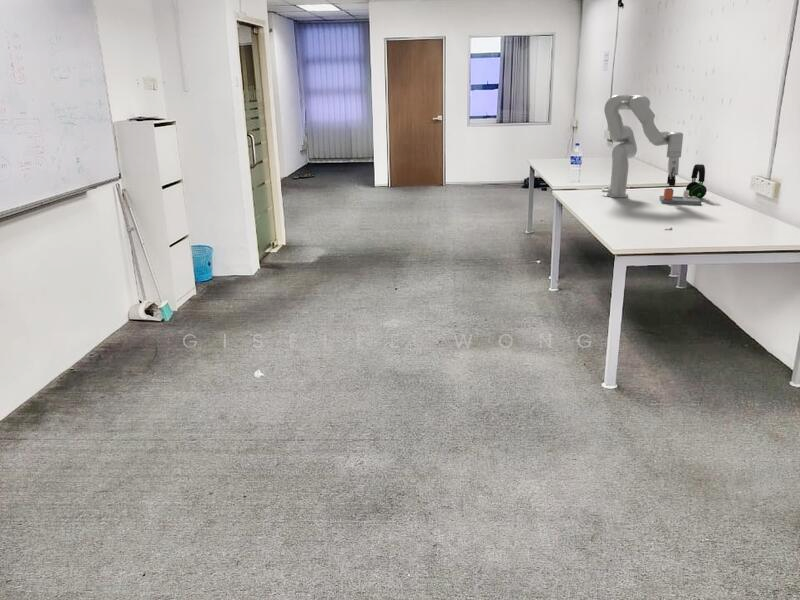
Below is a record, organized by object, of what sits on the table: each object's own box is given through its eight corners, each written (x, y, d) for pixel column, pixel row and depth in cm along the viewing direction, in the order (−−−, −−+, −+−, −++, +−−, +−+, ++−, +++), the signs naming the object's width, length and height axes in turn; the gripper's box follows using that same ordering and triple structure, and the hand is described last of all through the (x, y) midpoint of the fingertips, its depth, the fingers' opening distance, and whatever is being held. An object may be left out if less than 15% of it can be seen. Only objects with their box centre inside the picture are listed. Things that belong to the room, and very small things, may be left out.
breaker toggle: (683, 197, 372) (684, 190, 370) (682, 196, 375) (684, 189, 374) (688, 198, 371) (689, 190, 370) (687, 196, 375) (688, 189, 373)
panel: (661, 203, 368) (662, 197, 367) (659, 199, 381) (660, 193, 380) (700, 205, 362) (701, 199, 361) (697, 200, 375) (698, 195, 374)
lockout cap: (663, 199, 369) (665, 188, 367) (663, 198, 373) (664, 187, 371) (672, 199, 367) (673, 189, 365) (671, 198, 372) (672, 188, 370)
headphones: (690, 200, 378) (695, 166, 371) (683, 195, 392) (687, 162, 386) (707, 200, 377) (712, 166, 370) (699, 195, 391) (703, 163, 385)
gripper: (682, 156, 353) (679, 186, 358) (679, 153, 369) (676, 183, 374) (668, 156, 355) (665, 186, 360) (665, 153, 371) (662, 182, 376)
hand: (670, 184), depth 367 cm, fingers open, 9 cm apart
